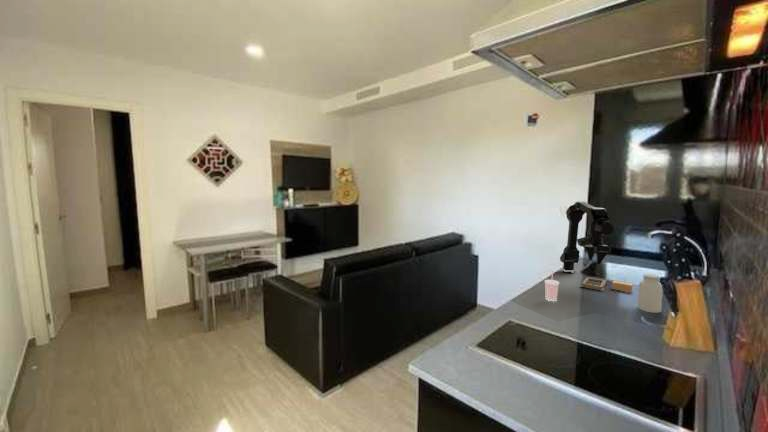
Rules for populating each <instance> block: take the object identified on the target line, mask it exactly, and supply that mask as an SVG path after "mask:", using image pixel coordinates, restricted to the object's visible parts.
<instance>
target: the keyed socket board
mask: <svg viewBox="0 0 768 432" xmlns="http://www.w3.org/2000/svg"><path fill="white" fill-rule="evenodd" d="M589 280H590V281H594V282H600V283H601V285H600V286H598V285H592V284H586V283H587V282H588V281H589ZM606 283H607V280H606V279H605V280H604V279H601V278H600V279H598V278H593V277H586V278H584V280H583V281H582V282H581V285H582V286H584V287H589V288H591V289H596V290H602V291H603V290H605V289H604V288H603V287H604V286H605V284H606ZM591 289H590V290H591ZM596 290H595V291H596ZM602 291H601V292H602ZM603 292H604V291H603Z"/></svg>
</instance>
